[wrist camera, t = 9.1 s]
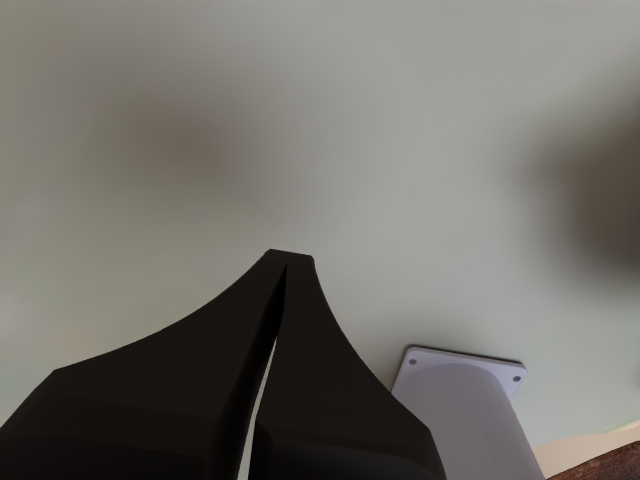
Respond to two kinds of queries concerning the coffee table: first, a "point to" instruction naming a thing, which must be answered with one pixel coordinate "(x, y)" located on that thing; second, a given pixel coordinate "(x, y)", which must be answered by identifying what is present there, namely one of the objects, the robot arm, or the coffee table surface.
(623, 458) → the wooden tablet
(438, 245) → the coffee table surface
